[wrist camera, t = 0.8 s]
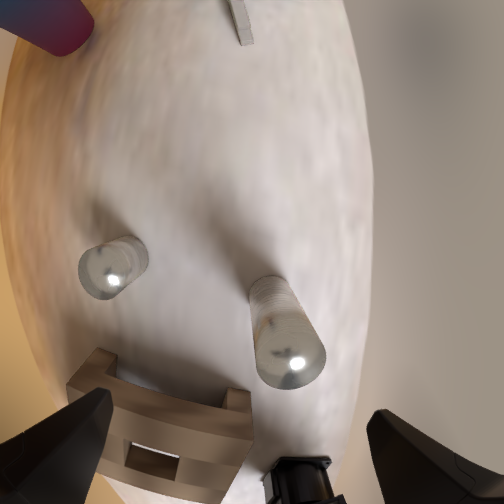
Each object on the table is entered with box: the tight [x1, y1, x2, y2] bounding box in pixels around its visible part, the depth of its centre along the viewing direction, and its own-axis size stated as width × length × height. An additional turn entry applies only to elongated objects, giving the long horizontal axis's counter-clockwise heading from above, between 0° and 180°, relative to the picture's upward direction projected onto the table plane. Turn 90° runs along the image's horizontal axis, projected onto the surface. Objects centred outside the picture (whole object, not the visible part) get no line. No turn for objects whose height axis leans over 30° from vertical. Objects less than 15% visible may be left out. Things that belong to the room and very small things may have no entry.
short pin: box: [78, 236, 149, 300], centre depth 17 cm, size 3×3×5 cm
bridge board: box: [66, 348, 254, 504], centre depth 20 cm, size 14×12×6 cm
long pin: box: [249, 276, 326, 390], centre depth 16 cm, size 3×3×9 cm
